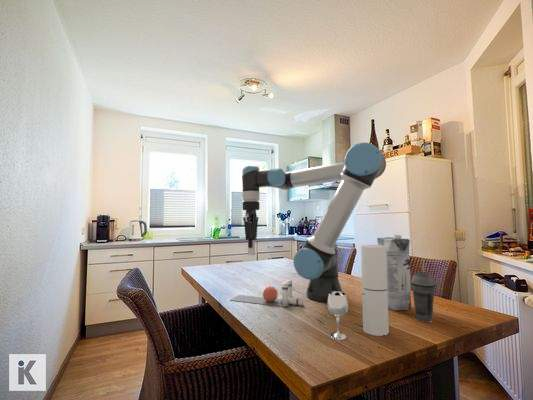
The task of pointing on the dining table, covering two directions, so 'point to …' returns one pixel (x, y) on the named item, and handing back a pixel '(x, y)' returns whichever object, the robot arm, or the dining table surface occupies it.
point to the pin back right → (289, 288)
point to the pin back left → (285, 294)
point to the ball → (270, 294)
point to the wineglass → (337, 310)
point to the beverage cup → (423, 295)
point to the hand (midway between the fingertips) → (251, 254)
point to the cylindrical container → (374, 289)
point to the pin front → (294, 301)
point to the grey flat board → (256, 300)
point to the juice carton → (397, 272)
